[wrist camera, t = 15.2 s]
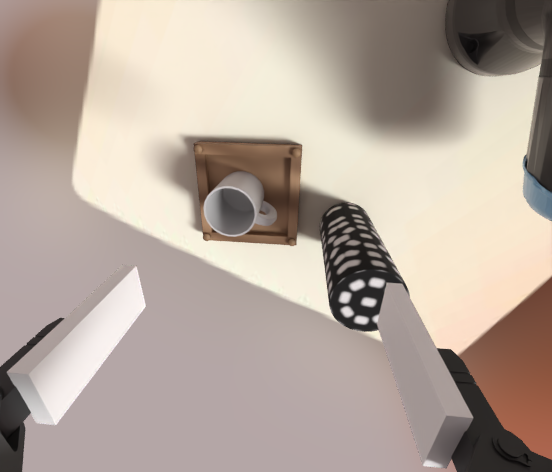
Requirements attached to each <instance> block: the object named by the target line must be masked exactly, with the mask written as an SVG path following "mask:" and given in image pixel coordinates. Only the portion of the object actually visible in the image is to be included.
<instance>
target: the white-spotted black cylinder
mask: <svg viewBox="0 0 552 472" xmlns="http://www.w3.org/2000/svg"><path fill="white" fill-rule="evenodd" d="M320 233H321V241H322V249H323V257H324V265H325V273H326V281H327V289H328V298H329V306H330V310H331V313H332V314H333V316H334V318H335V319H336V320H337V321H338V322H339V323H341V324H342V325H344V326H346V327H348V328H350V329H354V330H357V331H364V332H365V331H377V330H379V329H378V326H377V322H378V318H379V314H380V309H381V305H382V301H383V297H384V292H385V288H386V284H387V283H399V284H403V286H404V288H405V290H406V291H407V293H408V295H409V291H408V288H407V286H406V284H405V282H404V281H403V279H402V277H401V275H400V273H399V271H398V270H397V268H396V266H395V264H394V262H393V260H392V259H391V257H390V255H389V253H388V251H387V249H386V248H385V246H384V244H383V242H382V240H381V238H380V237H379V235H378V233H377V231H376V229H375V227H374V226H373V224H372V222H371V220H370V218H369V216H368V215H367V213H366V212H365V210H364V209H362V208H361V207H360V206H358V205H355V204H352V203H341V204H337V205H335V206H333V207H331V208H330V209H328V210H327V211H326V212H325V214H324V215H323V217H322V219H321V222H320ZM409 297H410V295H409Z"/></svg>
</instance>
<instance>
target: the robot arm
mask: <svg viewBox="0 0 552 472" xmlns="http://www.w3.org/2000/svg"><path fill="white" fill-rule="evenodd" d="M446 36H447V41H448V44H449V47H450V50H451V52H452V54H453V55H454V57H455V58H456V60H457V61H458V62H459V63H460V64H461V65H462V66H463V67H464V68H466V69H467V70H469V71H471V72H473V73H476V74H479V75H483V76H503V75H511V74H516V73H520V72H523V71H526V70H529V69H531V68H533V67H536V66H538V65H540V64H541V68H540V74H539V77H538V84H537V90H536V97H535V103H534V110H533V116H532V123H531V129H530V136H529V142H528V149H527V154H526V155H525V156H524V159H523V169H524V182H523V195H524V197H525V199H526V200H527V203H528V204H529V206H530V207H531V208H532V209H533V210H534V211H535V212H537V213H538V214H540V215H541V216H543V217H544V218H546V219H548V220H550V221H552V0H449V1H448V5H447V11H446ZM145 306H146V305H145V301H144V296H143V292H142V288H141V283H140V279H139V275H138V271H137V266H132V265H122V266H121V267H120V268H119V269H118V270H117V271H115V272H114V273H113V274H112V275H111V276H110V277H109V278H108V279H107V280H106V281H105V282H104V283H103V284H101V285H100V286H99V287H98V288H97V289H96V290H95V291H94V292H93V293H92V294H91V295H90V296H89V297H87V298H86V299H85V300H84V301H83V302H82V303H81V304H80V305H79V306H78V307H77V308H75V309H74V310H73V311H72V312H71V313H70V314H69V315H68V316H67V317H66V318H59V319H57V320H56V321H54V322H52V323H51V324H49V325H47V326H46V327H45V328H44V329H42V330H41V331H40V332H39V333H38V334H37V335H36V337H35V338H34V337H33V338H32V339H31V340H30V341H29V342H28V343H27V345H26V346H23V347H22V348H21V349H20V350H19V351H18V352H17V353H15V354H14V355H13V356H12V357H11V358H10V359H9V360H8V361H6V362H5V363H4V364H3V365H2V366H1V367H0V472H22V464H23V452H24V439H25V426H24V423H23V421H24V420H25V419H26V418H27V417H28V415H29V414H30V413H31V415H32V416H33V418H34V420H35V422H36V423H41V424H51V425H56V424H57V423H58V421H59V420H60V419H61V418H62V416H63V415H64V414H65V412H66V411H67V410H68V408H69V407H70V406H71V404H72V403H73V402H74V400H75V399H76V398H77V396H78V395H79V394H80V392H81V391H82V390H83V388H84V387H85V386H86V385H87V383H88V382H89V381H90V379H91V378H92V377H93V375H94V374H95V373H96V371H97V370H98V369H99V367H100V366H101V365H102V363H103V362H104V361H105V359H106V358H107V357H108V355H109V354H110V353H111V351H112V350H113V349H114V348H115V346H116V345H117V344H118V342H119V341H120V340H121V338H122V337H123V336H124V334H125V333H126V332H127V330H128V329H129V328H130V326H131V325H132V324H133V322H134V321H135V320H136V318H137V317H138V316H139V314H140V313H141V312H142V311H143V309H144V308H145ZM377 326H378V329H379V332H380V335H381V338H382V341H383V344H384V347H385V350H386V354H387V356H388V360H389V363H390V366H391V369H392V372H393V375H394V378H395V381H396V385H397V388H398V391H399V393H400V397H401V400H402V403H403V406H404V409H405V412H406V415H407V418H408V422H409V425H410V428H411V430H412V434H413V437H414V440H415V443H416V446H417V449H418V453H419V456H420V459H421V462H422V465H423V466H430V467H439V468H447V466H448V464H449V462H450V461H451V459H452V460H453V463H454V465H455V468H456V470H457V472H552V460H551V459H548V458H546V457H543V456H541V455H538V454H536V453H534V452H532V451H530V449H529V448H528V447H527V446H526V445H525V444H524V443H523V441H522V440H520V439H519V438H518V437H517V436H515V435H514V434H513V433H511V432H509V431H507V430H505V429H504V428H503V426H502V425H501V423H500V422H499V420H498V418H497V417H496V415H495V413H494V412H493V410H492V408H491V407H490V405H489V404H488V402H487V400H486V398H485V397H484V395H483V393H482V392H481V390H480V388H479V387H478V386H477V385H476V382H475V381H474V379H473V377H472V375H470V372H469V370H468V369H467V367H466V365H465V364H464V362H463V361H462V360H461V359H460V358H459V357H458V356H457V355H456V354H455V353H454V352H453V351H452V350H451V349H439V348H436V346H435V344H434V342H433V341H432V339H431V337H430V335H429V333H428V331H427V329H426V327H425V325H424V324H423V322H422V320H421V318H420V316H419V314H418V312H417V310H416V308H415V307H414V305H413V303H412V301H411V299H410V297H409V295H408V293H407V291H406V290H405V288H404V286H403V284H399V283H387V284H386V288H385V292H384V297H383V301H382V305H381V309H380V314H379V318H378V322H377Z"/></svg>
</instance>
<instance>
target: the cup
mask: <svg viewBox="0 0 552 472" xmlns="http://www.w3.org/2000/svg"><path fill="white" fill-rule="evenodd" d="M263 200H264V189H263V185H262V184H261V182H260V180H259V179H258V178H257V177H256V176H254V175H253V174H251V173H248V172H245V171H237V172H233V173H231V174H229V175H228V176H226V177H225V178H224V179H223V180H222V181H221V182H220V183H219V184H218V185H217V186H216V187H215V188H214V190H213V191H212V192H211V193H210V194H209V195H208V196H207V198H206V200H205V202H204V208H203V209H204V216H205V218H206V221H207V222H208V224H209V225H210V227H212V228H213V229H214V230H215V231H216V232H218V233H220V234H222V235H225V236H232V237H236V236H241V235H243V234H245V233H247V232H248V231H249V230H250V229H251V228H252V227H253V225H254V224H255V223H256V224H258V225H262V226H269V225H272V224H273V223H274V222H275V221H276V219H277V212H276V210H275V208H274V207H273V206H272V205H270V204H269V203H267V202H265V201H263ZM260 210H261V211H263V212H265V213H266V215H263V214H260V213H259V211H260Z"/></svg>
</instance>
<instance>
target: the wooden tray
mask: <svg viewBox="0 0 552 472" xmlns="http://www.w3.org/2000/svg"><path fill="white" fill-rule="evenodd" d="M194 151H195V161H196V171H197V180H198V190H199V200H200V209H201V219H202V229H203V239H204V240H205V241H209V240H215V241H232V242H248V243H265V244H282V245H290V246H294V245H296V240H297V224H298V207H299V190H300V174H301V157H302V145H290V144H262V143H233V142H205V141H199V142H196V143H194ZM237 171H245V172H248V173H251V174H253V175H254V176H256V177H257V178H258V179H259V180H260V182H261V184H262V185H263V189H264V200H263V201H265V202H267V203H269V204H270V205H272V206H273V207H274V208H275V210H276V212H277V219H276V221H275V222H274V223H273V224H272V225H269V226H262V225H258V224H256V223H255V224H254V225H253V227H252V228H251V229H250V230H249V231H248V232H247V233H245V234H243V235H241V236H236V237H232V236H225V235H222V234H220V233H218V232H216V231H215V230H214V229H213V228H212V227H210V225H209V224H208V222H207V221H206V218H205V216H204V209H203V208H204V202H205V200H206V198H207V196H208V195H209V194H210V193H211V192H212V191H213V190H214V188H215V187H216V186H217V185H218V184H219V183H220V182H221V181H222V180H223V179H224V178H225V177H226V176H228V175H229V174H231V173H233V172H237ZM259 213H260V214H263V215H266V213H265V212H263V211H261V210H260V211H259Z"/></svg>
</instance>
